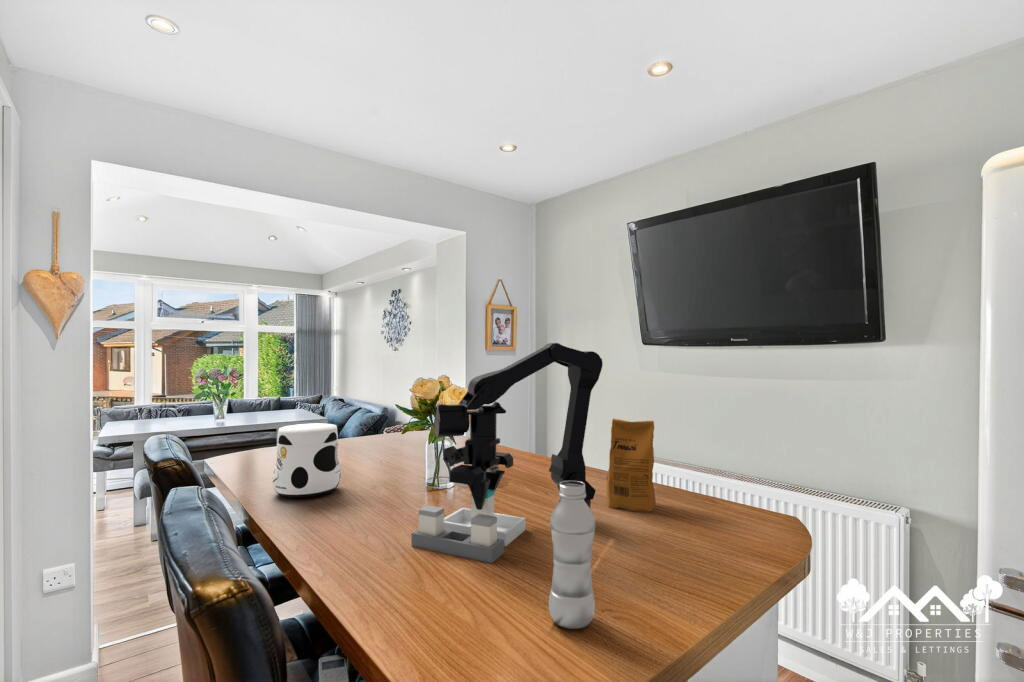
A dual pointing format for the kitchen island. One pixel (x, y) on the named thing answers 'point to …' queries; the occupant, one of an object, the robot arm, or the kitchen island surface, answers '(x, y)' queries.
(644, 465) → the coffee package
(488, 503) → the block
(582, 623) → the plastic bottle
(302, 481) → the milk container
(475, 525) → the fuse
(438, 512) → the block
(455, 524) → the tray
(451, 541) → the fuse holder
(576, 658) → the kitchen island surface
